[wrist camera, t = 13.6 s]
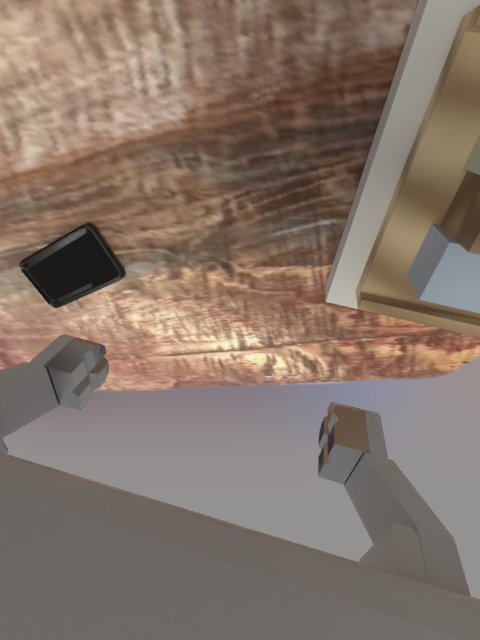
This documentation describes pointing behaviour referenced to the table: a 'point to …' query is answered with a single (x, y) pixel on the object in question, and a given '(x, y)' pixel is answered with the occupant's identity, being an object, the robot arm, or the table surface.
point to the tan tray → (433, 193)
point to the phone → (73, 266)
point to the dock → (394, 138)
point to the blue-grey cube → (446, 272)
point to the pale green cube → (474, 159)
